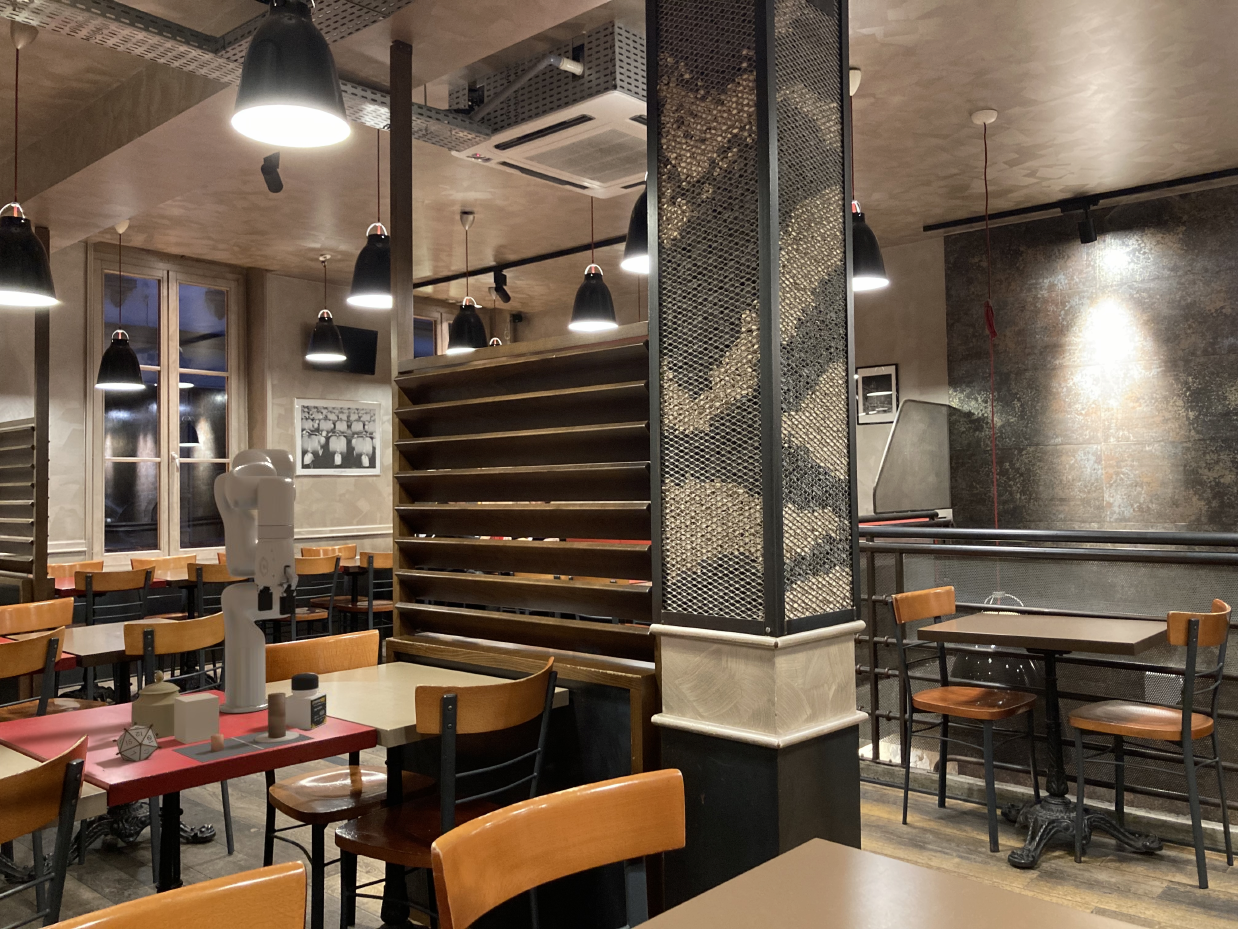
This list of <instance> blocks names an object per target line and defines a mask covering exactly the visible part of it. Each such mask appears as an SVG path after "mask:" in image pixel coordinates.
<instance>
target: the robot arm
mask: <svg viewBox="0 0 1238 929" xmlns="http://www.w3.org/2000/svg"><path fill="white" fill-rule="evenodd" d="M295 462H296V461H295V459H294V457H293V454H291V453H290V451H288V450H286V449H281V448H278V449H276V448H275V449H274V448H273V449H272V448H250V449H244V450H241V451H239V452H238V453H237V454H236V455H235V456H234V457H233V459H232V462H231V469H230V470H229V471H228V472H224V473H221V474H220V475H219V474H218V476H217V477H215V480H214V484H213V493H214V500H215V504H216V507H217V509H218V512H219V514H220V517H221V519H222V522H223V523H222V524H223V527H224V528H223V529H224V544H225V546H224V548H225V549H224V550H225V564H226V570H227V573H228V574H229V575H230V576H231V577H233V578H239V579H245V578H246V579H247V578H253V580H254V582H253V581H252V582H239V583H234V584H231V585H228V586H227V587H225V588H224V589H223V591H222V592H221V596H220V604H221V611H222V616H223V617H222V618H223V623H224V661H225V663H224V664H225V666H224V670H225V673H224V676H225V678H224V680H225V681H224V682H225V684H224V688H225V691H224V693H223V695H224V697H225V699H224V700H225V701H224V702H223V703H219V712H222V713H225V714H227V713H228V714H241V713H252V712H259V711H262V710H268V698H267V697H266V694H267V691H266V690H267V689H266V687H267V686H266V684H267V683H266V681H267V680H266V675H267V674H266V637H265V634H264V632H263V631H262V630H261V629H260V627H259V626H257V625H256V624H255V621H261V620H270V619H281V618H287V617H288V616H291V615H294V614H295V613H296V612H295V611H296V606H295V604H296V602H295V601H296V599H295V596H296V595H297V592H296V590H297V589H298V581H299V576H298V574H297V573H296V559H295V558H296V557H295V548H294V547H295V546H294V540H295V501H296V499H297V498H296V497H297V488H296V484H295V482H294V478H295V473H296V463H295ZM254 510H255V511H257V516H256V515H255V513H254V512H253V511H254Z"/></svg>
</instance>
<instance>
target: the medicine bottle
mask: <svg viewBox="0 0 1238 929" xmlns="http://www.w3.org/2000/svg"><path fill="white" fill-rule="evenodd" d="M319 681H320V680H319V675H318V674H317V673H314V672H302V673H296V674H294V675H293V676H292V677H291V679H290V684H291V685H290V686H291V687H290V688H291V691H290V692H291V695H288V696H286V726H287V727H291V728H292V729H293V728H294V729H297V730H302V731H304V730H305V731H311V730H314V729H316V728H319V727H320V726H322V725H324V724H326V723H327V693H326V692H322V691H321V692H319V690H320V689H319V688H320V687H319V685H320V684H319Z"/></svg>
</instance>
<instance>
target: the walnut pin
mask: <svg viewBox="0 0 1238 929" xmlns="http://www.w3.org/2000/svg"><path fill="white" fill-rule="evenodd" d="M286 697H287V695H286V692H272V693H269V694H267V699H268V708H267V730H268V738H282V737H285V736H286V729H287V727H286V726H287V725H286Z"/></svg>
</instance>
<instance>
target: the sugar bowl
mask: <svg viewBox="0 0 1238 929" xmlns="http://www.w3.org/2000/svg"><path fill="white" fill-rule="evenodd" d="M164 677H165V675H164V673H163V671H161V670H158V671H157V672H156V673H155V674H154V680H155V682H153V683H151V684H148V685H145V686H144V687H143V688H142V689H140V690H139V691H138V694H139V697H138V698H137V699H135V700H134V701H132V703H131V712H130V713H131V714H130V716H131V718H130V719H131V722H130V723H131V727H133V726H135V725H134V723H135V721H136V722H137V725H140V726H148V727H150V725H151V724H153V727H151V728H152V730H153V732H154V734H156V733H158V736H156V739H157V740H159V739H165V738H169V737H174V698H176V697H183V696H184V695H181V694H180V693H179V690H180V689H181V688H180V687H179V686H177V685H176V684H174V683H171V682H167V681H166V682H165V681H163V680H164ZM131 727H130V728H131Z"/></svg>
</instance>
